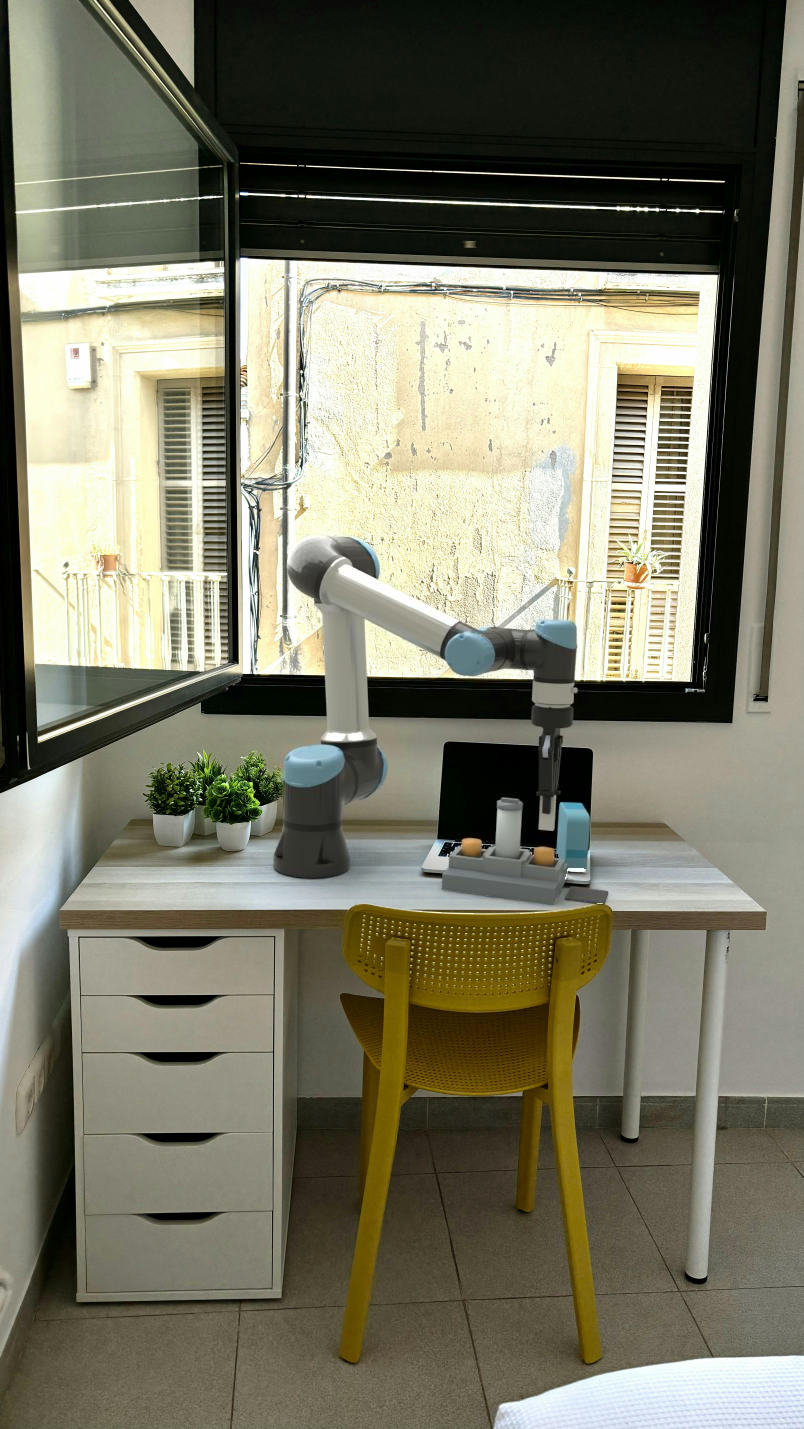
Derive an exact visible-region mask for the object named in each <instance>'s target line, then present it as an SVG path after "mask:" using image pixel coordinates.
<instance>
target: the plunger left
mask: <svg viewBox="0 0 804 1429" xmlns="http://www.w3.org/2000/svg"><path fill="white" fill-rule="evenodd" d="M482 845H483V842H482V840H481V839H479V838H472V837H467V838H463V839H462V840H461V846H462V852H461V853H462V854H463V855H465V856H470V857H476V856H480V855H481V849H483V848H482Z"/></svg>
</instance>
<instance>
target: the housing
mask: <svg viewBox="0 0 804 1429" xmlns="http://www.w3.org/2000/svg"><path fill="white" fill-rule="evenodd" d="M495 847H496V845H493V846H489V847H488V848H487V849H485V848H481V855H480V856H476V857H470V856H465V855H463V854H462V853H461V852H462V845H458V846H457V847H456V848H455V849H454V850H453V851H452V852H451V854H449V856H448V867H447V868H446V869H445V871H443V873H442V874H441V875H442V876H441V890H443V891H451V892H457V893H465V894H471V895H472V894H473V895H479V896H486V897H494V898H500V899H501V898H502V899H507V900H516V901H522V902H530V903H537V904H538V903H539V904H543V905H544V904H545V905H551V906H552V905H555V903H556V901H557V899H558V897H559V896H560V893H561V891H562V889H563V887H564V885H565V883H566V881H565V877H566V874H567V875H568V872H567V869H568V864H567V863H565V859H559V858H557V857H554V864H553V865H550V866H541V865H537V864H535V863H534V862H533V861H534V854H533V855H532V851H530V849H525V848H520V853H519V860H518V859H510V858H502V857H495Z"/></svg>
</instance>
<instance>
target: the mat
mask: <svg viewBox="0 0 804 1429" xmlns="http://www.w3.org/2000/svg"><path fill="white" fill-rule="evenodd" d="M608 893H609V891H608V890H606V889H605V890H604V889H603V890H602V889H595V888H588V887H580V886H572V885H570V886H569V889H568V891H567V894H566V895H565V897H564V901H572V902H579V903H584V904H585V903H586V904H593V905H598V904H597V903H603V904H604V905H605V902H606V900H607V897H608Z"/></svg>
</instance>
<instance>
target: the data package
mask: <svg viewBox="0 0 804 1429" xmlns="http://www.w3.org/2000/svg"><path fill="white" fill-rule="evenodd" d="M558 808H559V809H558V820H557V840H556V855H557V854H558V857H559V859H565V863H567V864H568V868H584V869H586V868H587V869H588V858H589V857H588V855H589V839H590V827H591V826H590V825H591V820H590V819H591V818H590V814H589V813H588V811H587V809H586V808H585V806H584V804H583V803H582V802H560V803H559V807H558Z"/></svg>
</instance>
